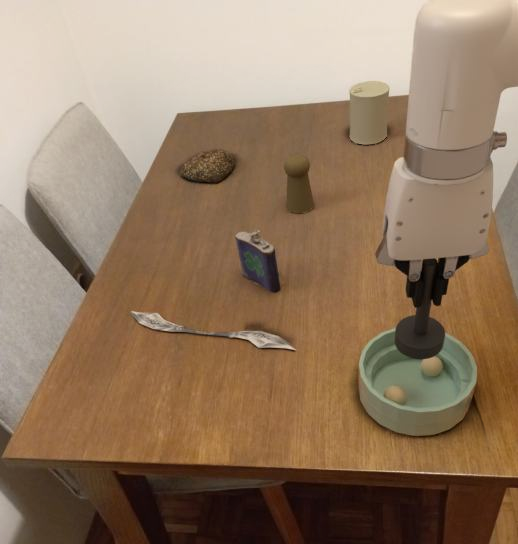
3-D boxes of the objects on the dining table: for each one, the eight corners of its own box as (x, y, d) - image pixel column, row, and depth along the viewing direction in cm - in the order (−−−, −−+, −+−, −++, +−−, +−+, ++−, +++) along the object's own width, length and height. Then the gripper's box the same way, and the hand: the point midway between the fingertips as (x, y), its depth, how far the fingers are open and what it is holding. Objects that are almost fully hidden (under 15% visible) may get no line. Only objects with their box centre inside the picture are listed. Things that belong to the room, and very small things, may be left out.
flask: (239, 275, 98) (230, 226, 91) (251, 267, 100) (243, 219, 92) (273, 295, 93) (267, 246, 86) (285, 287, 94) (279, 237, 87)
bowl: (454, 350, 79) (460, 321, 75) (483, 434, 69) (491, 407, 65) (353, 357, 81) (353, 330, 77) (365, 441, 70) (366, 415, 66)
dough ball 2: (438, 364, 77) (441, 350, 75) (443, 380, 75) (446, 366, 73) (417, 365, 78) (419, 352, 75) (422, 381, 75) (424, 368, 73)
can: (344, 132, 133) (344, 83, 124) (379, 125, 133) (381, 75, 124) (355, 148, 126) (356, 97, 118) (392, 141, 127) (395, 89, 118)
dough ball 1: (403, 394, 74) (404, 380, 72) (407, 411, 72) (408, 397, 70) (381, 395, 75) (382, 382, 72) (384, 412, 73) (385, 399, 70)
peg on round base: (437, 324, 69) (451, 242, 60) (448, 357, 65) (464, 275, 56) (391, 327, 70) (397, 247, 60) (398, 361, 66) (407, 280, 56)
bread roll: (216, 188, 122) (212, 168, 118) (175, 179, 127) (169, 159, 124) (245, 161, 129) (242, 142, 125) (205, 154, 134) (201, 135, 131)
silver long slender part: (132, 310, 95) (119, 329, 92) (131, 307, 95) (118, 326, 92) (303, 332, 86) (296, 354, 83) (303, 330, 85) (295, 351, 82)
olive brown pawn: (282, 213, 111) (277, 164, 103) (290, 197, 115) (285, 149, 107) (310, 214, 109) (307, 165, 101) (317, 199, 113) (314, 150, 105)
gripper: (520, 123, 51) (484, 273, 64) (355, 141, 52) (354, 284, 65) (548, 161, 46) (503, 315, 59) (365, 179, 47) (361, 326, 60)
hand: (424, 298), depth 62 cm, fingers closed on peg on round base
